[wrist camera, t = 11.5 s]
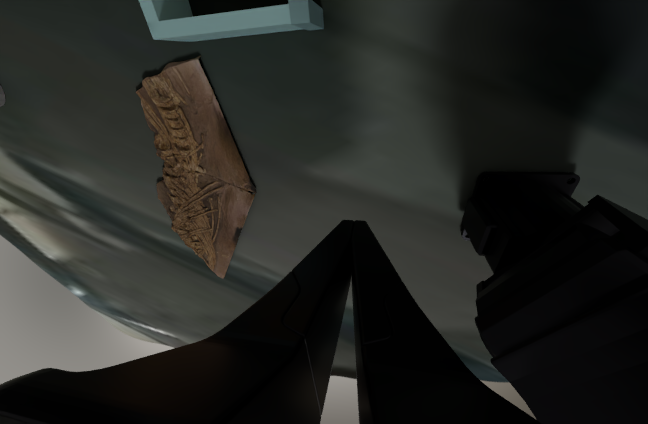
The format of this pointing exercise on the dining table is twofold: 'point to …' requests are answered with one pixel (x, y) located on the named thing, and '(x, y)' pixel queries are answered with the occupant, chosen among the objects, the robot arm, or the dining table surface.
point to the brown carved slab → (197, 162)
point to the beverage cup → (2, 97)
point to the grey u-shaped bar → (227, 20)
